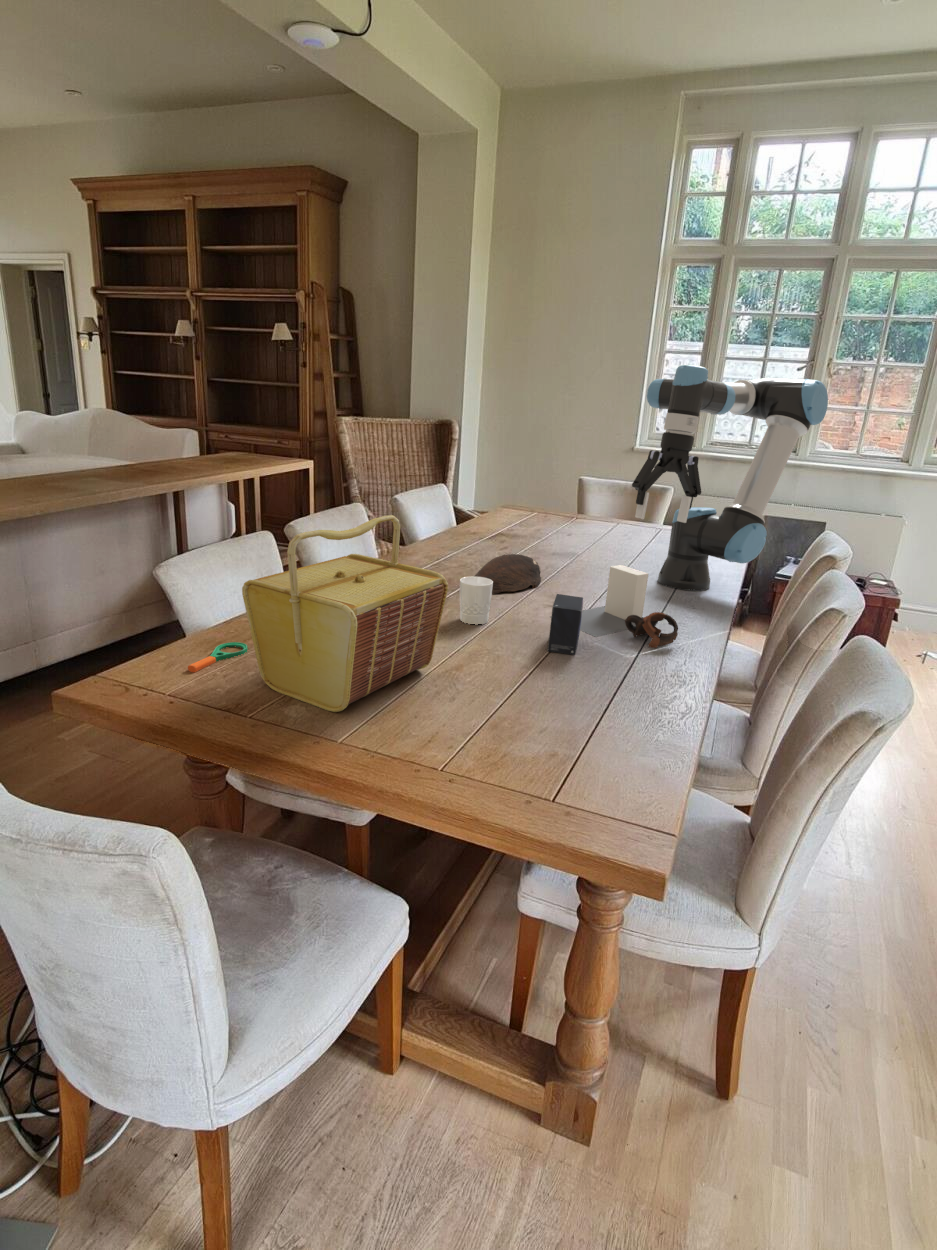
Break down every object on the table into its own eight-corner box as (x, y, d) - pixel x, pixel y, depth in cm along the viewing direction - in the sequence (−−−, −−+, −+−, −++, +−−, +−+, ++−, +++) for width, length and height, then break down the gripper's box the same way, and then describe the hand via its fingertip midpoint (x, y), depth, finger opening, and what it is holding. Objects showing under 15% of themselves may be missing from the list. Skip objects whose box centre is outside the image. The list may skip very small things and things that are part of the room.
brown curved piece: (669, 638, 169) (684, 616, 163) (664, 667, 162) (679, 645, 156) (621, 620, 170) (634, 597, 163) (614, 648, 163) (627, 625, 157)
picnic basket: (349, 727, 117) (349, 549, 107) (240, 686, 129) (232, 523, 119) (447, 673, 140) (455, 523, 130) (348, 642, 153) (348, 503, 143)
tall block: (615, 609, 185) (621, 564, 181) (641, 619, 178) (648, 573, 174) (604, 611, 183) (610, 566, 179) (631, 622, 176) (637, 575, 172)
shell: (527, 607, 191) (525, 579, 188) (457, 606, 197) (454, 578, 194) (552, 567, 220) (550, 542, 217) (490, 567, 227) (488, 543, 224)
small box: (576, 656, 153) (582, 610, 150) (546, 652, 154) (551, 606, 151) (579, 639, 163) (584, 596, 159) (551, 636, 164) (555, 593, 161)
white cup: (495, 619, 173) (498, 579, 170) (482, 628, 166) (485, 587, 163) (466, 613, 176) (468, 574, 173) (452, 622, 169) (454, 581, 166)
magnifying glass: (229, 645, 149) (229, 638, 148) (254, 650, 147) (253, 642, 146) (178, 671, 135) (178, 662, 134) (205, 676, 133) (204, 668, 133)
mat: (610, 606, 189) (610, 604, 189) (657, 624, 177) (658, 622, 177) (548, 618, 176) (549, 616, 176) (595, 638, 164) (595, 636, 164)
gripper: (648, 427, 163) (630, 519, 169) (728, 440, 175) (708, 525, 180) (628, 425, 170) (611, 514, 176) (706, 438, 181) (688, 520, 187)
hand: (660, 520), depth 178 cm, fingers open, 13 cm apart
